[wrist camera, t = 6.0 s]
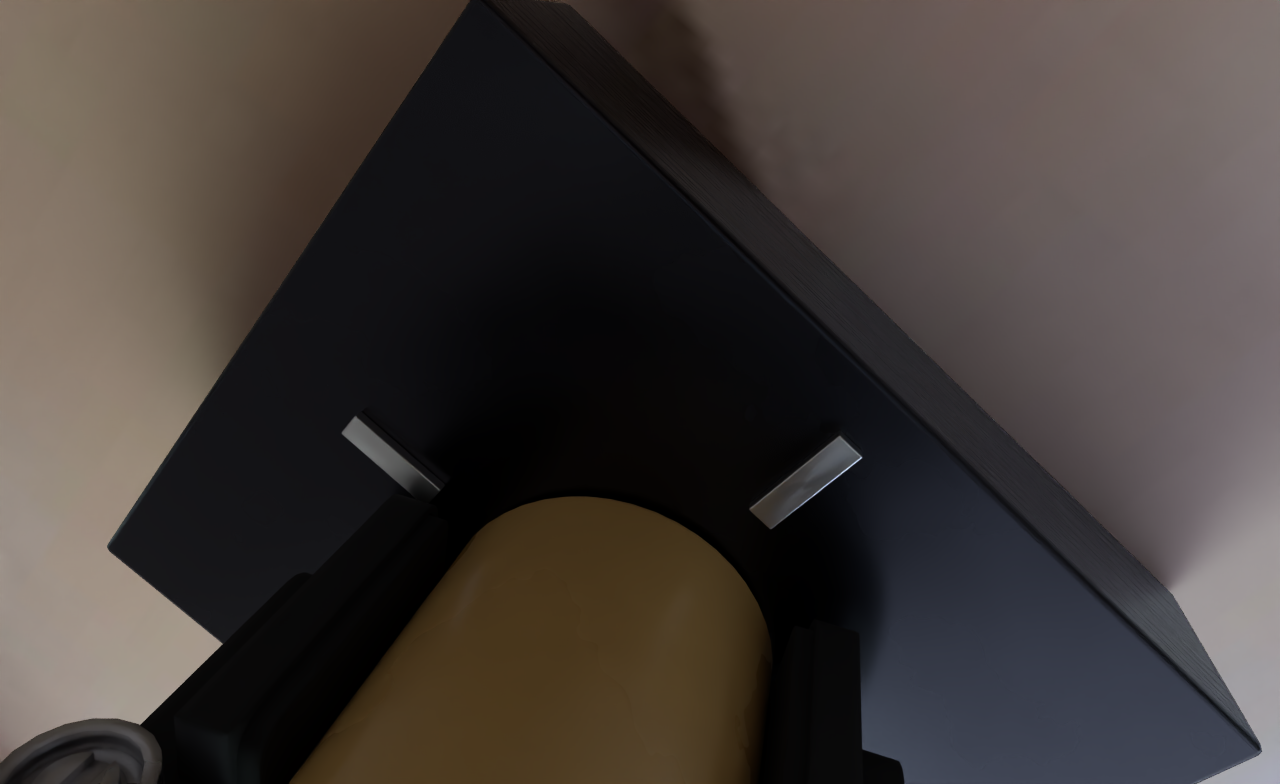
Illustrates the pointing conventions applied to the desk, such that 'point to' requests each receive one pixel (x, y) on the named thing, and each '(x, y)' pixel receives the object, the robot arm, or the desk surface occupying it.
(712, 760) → the dimmer knob
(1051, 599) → the dimmer
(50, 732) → the robot arm
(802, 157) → the desk surface
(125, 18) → the desk surface
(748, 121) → the desk surface
